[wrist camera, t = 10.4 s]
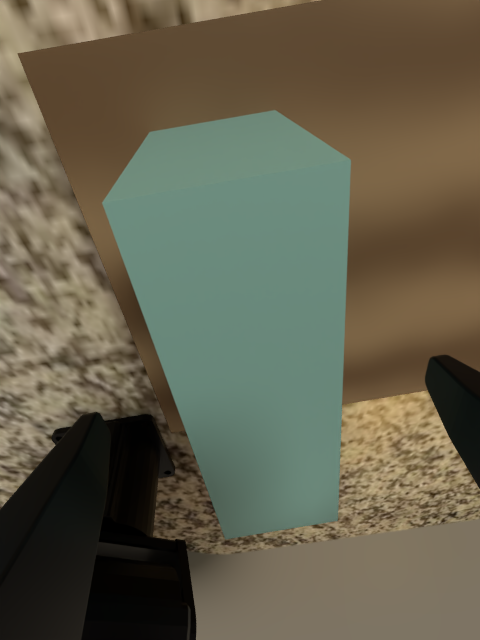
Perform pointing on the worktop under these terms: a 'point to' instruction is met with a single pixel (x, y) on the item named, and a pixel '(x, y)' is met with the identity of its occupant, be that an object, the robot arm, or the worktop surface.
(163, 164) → the tapered teal post
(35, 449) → the worktop surface
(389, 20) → the board
